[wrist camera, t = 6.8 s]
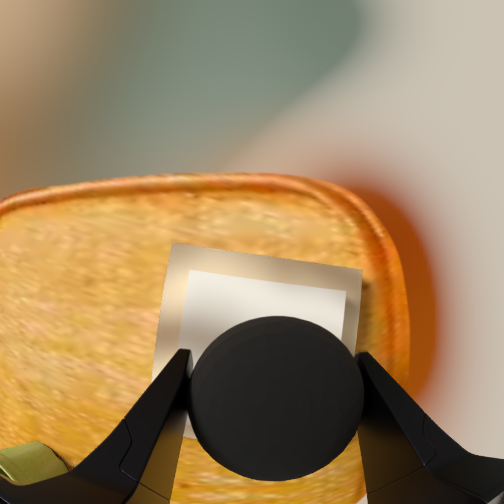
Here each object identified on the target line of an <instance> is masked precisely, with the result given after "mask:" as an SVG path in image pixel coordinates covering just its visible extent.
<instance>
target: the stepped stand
mask: <svg viewBox="0 0 504 504" xmlns="http://www.w3.org/2000/svg"><path fill="white" fill-rule="evenodd" d="M362 271H363V270H361V269H354V268H347V267H340V266H332V265H325V264H318V263H311V262H304V261H297V260H290V259H283V258H276V257H269V256H262V255H255V254H248V253H241V252H234V251H227V250H220V249H213V248H207V247H200V246H193V245H186V244H179V243H172V248H171V253H170V258H169V263H168V268H167V274H166V279H165V285H164V291H163V297H162V303H161V310H160V316H159V323H158V330H157V338H156V346H155V354H154V363H153V373H152V382H153V381H154V379H155V378H156V377H157V376H158V374H159V373H160V372H161V371H162V369H163V368H164V367H165V366H166V364H167V363H168V362H169V360H170V359H171V358H172V357H173V355H174V354H175V353H176V352H177V350H178V349H180V348H185V349H190V350H191V351H192V357H193V369H194V367H195V365H196V363H197V361H198V359H199V358H200V356H201V355H202V353H203V352H204V350H205V349H206V348H207V347H208V346H209V345H210V343H211V342H213V341H214V340H215V339H216V338H217V337H218V336H219V335H221V334H222V333H224V332H225V331H226V330H228V329H230V328H232V327H233V326H235V325H237V324H239V323H242V322H245V321H248V320H250V319H255V318H259V317H266V316H289V317H295V318H299V319H303V320H307V321H310V322H313V323H315V324H317V325H320V326H322V327H323V328H325V329H327V330H328V331H330V332H331V333H332V334H334V335H335V336H336V337H337V338H339V339H340V341H341V342H342V343H343V344H344V345H345V346H346V347H347V348H348V350H349V351H350V353H351V354H352V356H353V357H354V354H355V346H356V339H357V330H358V321H359V311H360V300H361V287H362ZM183 437H187V438H192V439H197V438H196V436H195V434H194V432H193V429H192V426H191V423H190V420H189V417H188V416H187V421H186V425H185V430H184V435H183Z"/></svg>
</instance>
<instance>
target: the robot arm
mask: <svg viewBox="0 0 504 504" xmlns="http://www.w3.org/2000/svg"><path fill="white" fill-rule="evenodd" d="M354 359H355V361H356V363H357V365H358V367H359V369H360V372H361V375H362V379H363V384H364V407H363V412H362V416H361V421H360V424H359V426H358V428H357V433H358V438H359V444H360V450H361V456H362V463H363V469H364V476H365V483H366V491H367V499H368V504H504V459H498V458H491V457H485V456H479V455H475V454H472V453H470V452H468V451H466V450H465V449H464V448H462V447H461V446H460V445H459V444H458V443H457V442H455V441H454V440H453V439H452V438H451V437H450V436H448V435H447V434H446V433H445V432H444V431H443V430H442V429H441V428H440V427H439V426H438V425H437V424H436V423H435V422H434V421H433V420H431V418H430V417H429V416H428V415H427V414H426V413H424V411H423V410H422V409H421V408H420V407H419V405H418V404H417V403H416V402H415V401H414V400H413V399H412V398H411V397H410V396H409V395H408V394H407V393H406V392H405V390H404V389H403V388H402V387H401V386H400V385H399V384H398V383H397V382H396V381H395V380H394V379H393V378H392V377H391V376H390V375H389V374H388V372H387V371H386V370H385V369H384V368H383V367H382V366H381V365H380V364H379V363H378V362H377V361H376V360H375V359H374V358H373V357H372V356H371V355H370V354H369V353H368V352H357V353H356V354H355V356H354ZM192 371H193V357H192V351H191V350H190V349H185V348H180V349H178V350H177V352H176V353H175V354H174V355H173V357H172V358H171V359H170V360H169V362H168V363H167V364H166V366H165V367H164V368H163V369H162V371H161V372H160V373H159V374H158V376H157V377H156V378H155V379H154V381H153V382H152V383H151V384H150V386H149V387H148V388H147V389H146V391H145V392H144V393H143V394H142V396H141V397H140V398H139V399H138V401H137V402H136V403H135V404H134V406H133V407H132V408H131V409H130V411H129V412H128V413H127V414H126V416H125V417H124V418H125V419H122V420H121V422H120V423H119V424H118V425H117V427H116V428H115V429H114V430H113V431H112V432H111V434H110V435H109V436H108V437H107V438H106V439H105V440H104V441H103V442H102V443H101V444H100V445H99V446H98V447H97V448H96V449H94V450H93V451H92V452H91V453H90V454H89V455H88V456H87V457H86V458H85V459H84V460H83V461H82V462H80V463H79V464H78V465H77V466H76V467H74V468H73V469H71V470H70V471H68V472H66V473H63V474H60V475H57V476H54V477H51V478H48V479H45V480H42V481H38V482H35V483H31V484H27V485H21V484H19V483H17V482H15V481H13V480H12V479H10V478H8V477H6V476H4V475H2V474H0V504H170V498H171V493H172V488H173V483H174V478H175V473H176V468H177V463H178V458H179V454H180V449H181V444H182V439H183V435H184V430H185V425H186V421H187V416H188V411H187V389H188V383H189V380H190V376H191V373H192Z"/></svg>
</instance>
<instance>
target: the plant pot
mask: <svg viewBox="0 0 504 504" xmlns="http://www.w3.org/2000/svg"><path fill="white" fill-rule="evenodd" d="M66 472H68V469H67V467H66V466H65V464H64V463H63V461H61V460H60V459H59V458H57V456H56V455H55V454H54V453H53V451H52V450H51V449H50V448H49V447H47V446H46V445H44V444H42V443H39V442H30V443H26V444H23V445H19V446H15V447H11V448H6V449H2V450H0V474H2V475H4V476H6V477H8V478H10V479H12V480H13V481H15V482H17V483H19V484H21V485H27V484H31V483H35V482H38V481H42V480H45V479H48V478H51V477H54V476H57V475H60V474H63V473H66Z"/></svg>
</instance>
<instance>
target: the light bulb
mask: <svg viewBox="0 0 504 504" xmlns="http://www.w3.org/2000/svg"><path fill="white" fill-rule="evenodd" d="M363 407H364V384H363V379H362V375H361V372H360V369H359V367H358V365H357V363H356V361H355V359H354V357H353V356H352V354H351V353H350V351H349V350H348V348H347V347H346V346H345V345H344V344H343V343H342V342H341V341H340V339H339V338H337V337H336V336H335V335H334V334H332V333H331V332H330V331H328V330H327V329H325V328H323V327H322V326H320V325H317V324H315V323H313V322H310V321H307V320H303V319H299V318H295V317H289V316H266V317H259V318H255V319H250V320H248V321H245V322H242V323H239V324H237V325H235V326H233V327H232V328H230V329H228V330H226V331H225V332H224V333H222V334H221V335H219V336H218V337H217V338H216V339H215V340H214V341H213V342H211V343H210V345H209V346H208V347H207V348H206V349H205V350H204V352H203V353H202V355H201V356H200V358H199V359H198V361H197V363H196V365H195V367H194V369H193V371H192V373H191V376H190V380H189V383H188V389H187V411H188V417H189V420H190V423H191V426H192V429H193V432H194V434H195V436H196V438H197V440H198V442H199V443H200V444H201V446H202V447H203V449H204V450H205V451H206V452H207V453H208V454H209V455H210V456H211V457H212V458H213V459H214V460H215V461H217V462H218V463H219V464H221V465H222V466H224V467H225V468H227V469H228V470H230V471H233V472H235V473H237V474H239V475H241V476H244V477H247V478H251V479H255V480H261V481H285V480H291V479H297V478H301V477H303V476H306V475H309V474H311V473H314V472H316V471H317V470H319V469H321V468H323V467H325V466H326V465H328V464H329V463H330V462H331V461H333V460H334V459H335V458H336V457H337V456H338V455H339V454H341V453H342V452H343V451H344V449H345V448H346V447H347V445H348V444H349V442H350V441H351V440H352V438H353V437H354V435H355V433H356V431H357V428H358V426H359V424H360V421H361V416H362V412H363Z"/></svg>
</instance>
